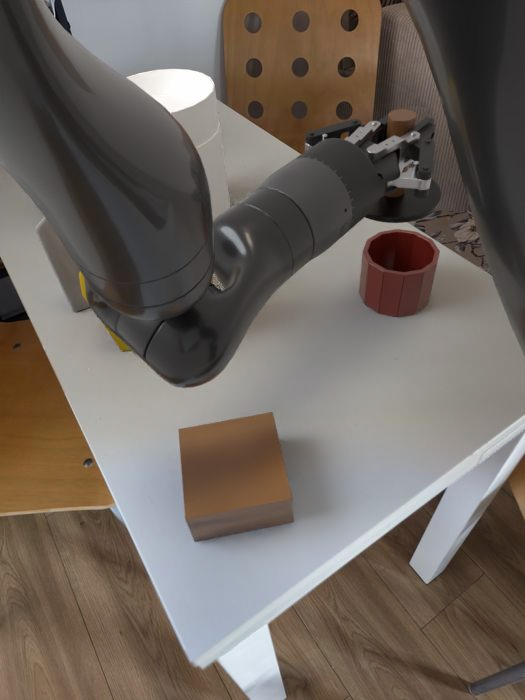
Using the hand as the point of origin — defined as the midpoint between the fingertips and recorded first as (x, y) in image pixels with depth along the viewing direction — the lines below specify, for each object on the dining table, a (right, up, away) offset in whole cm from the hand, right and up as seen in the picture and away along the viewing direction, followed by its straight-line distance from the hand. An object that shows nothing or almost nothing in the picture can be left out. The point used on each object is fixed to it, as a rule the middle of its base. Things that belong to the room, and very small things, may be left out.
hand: (414, 123), depth 52 cm
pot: (+3, -15, +19) cm, 24 cm away
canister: (-28, 0, +35) cm, 45 cm away
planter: (-36, -12, +25) cm, 45 cm away
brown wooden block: (-18, -36, +1) cm, 41 cm away
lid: (-1, -6, +3) cm, 7 cm away
